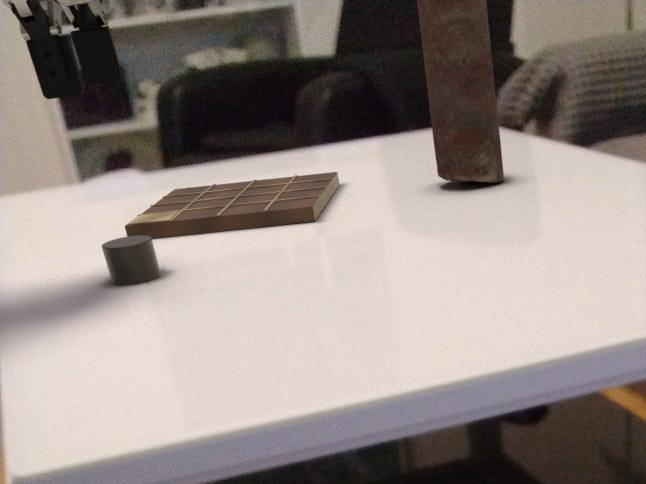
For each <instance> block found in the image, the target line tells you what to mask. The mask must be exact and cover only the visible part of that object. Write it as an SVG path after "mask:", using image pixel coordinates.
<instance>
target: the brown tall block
mask: <svg viewBox="0 0 646 484" xmlns="http://www.w3.org/2000/svg"><path fill="white" fill-rule="evenodd" d="M416 4H417V11H418V21H419V30H420V31H419V32H420V39H421V46H422V53H423V54H422V55H423V65H424V71H425V72H424V73H425V79H426V87H427V95H428V96H427V97H428V107H429V114H430V122H431V130H432V139H433V148H434V156H435V163H436V171H437V176H438V177H439V178H441V179H442V180H444V181H449V182H453V183H456V184H460V185H461V184H464V183H470V182H478V183H490V184H496V183H501V182H502V181H503V180H504V178H505V174H504V166H503V165H504V163H503V155H502V142H501V133H500V125H499V124H500V123H499V116H498V115H499V114H498V107H497V96H496V87H495V79H494V78H495V77H494V65H493V56H492V45H491V35H490V27H489V15H488V14H489V13H488V3H487V0H416Z"/></svg>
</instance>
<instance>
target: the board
mask: <svg viewBox="0 0 646 484" xmlns="http://www.w3.org/2000/svg"><path fill="white" fill-rule="evenodd" d="M339 187H340V179H339V174H338V171H333V172H332V171H331V172H322V173H312V174H304V175H298V174H295V175H294V176H285V177H275V178H267V179H265V178H264V179H253V180H248V181H239V182H229V183H219V184H216V183H212V184H211V185H210V184H209V185H201V186H200V185H199V186H192V187H191V186H190V187H183V188H174V189H173V190H171V191H170V192H169V193H167V194H166V195H163V196H162V198H160V199H159V200H158V201H157V202H155V203H154V204H150V207H148V208H147V209H146V210H144V211H143V212H141V213H138V214H137V216H136V217H134V219H132V220H130V221H129V222H128V223H127V224H125V225H124V229H125V233H126V237H129V236H141V235H143V236H150V237H151V238H152V239H158V238H159V239H160V238H167V237H179V236H187V235H197V234H207V233H217V232H225V231H226V232H227V231H236V230H245V229H255V228H256V229H257V228H264V227H265V228H266V227H274V226H284V225H293V224H294V225H295V224H302V223H303V224H304V223H313V222H314V223H315V222H316V221H317V220H318V218H319V216H320V215H321V213H322V212H323V210H324V209H325V207H326V206H327V204H328V202H329V201H330V200H331V198H332V197H333V196H334V194H335V192H336V191H337V189H338V188H339Z"/></svg>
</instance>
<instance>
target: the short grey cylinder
mask: <svg viewBox="0 0 646 484" xmlns="http://www.w3.org/2000/svg"><path fill="white" fill-rule="evenodd" d="M101 249H102V253H103V257H104V260H105V263H106V266H107V267H106V268H107V270H108V273H109V276H110V277H109V278H110V280H111V283H112V284H113V285H118V286H119V285H120V286H124V285H125V286H126V285H135V284H142V283H145V282H149V281H153V280H154V279H156V278H159V277H160V276H161V274H162V272H161V268H160V265H159V260H158V257H157V254H156V250H155V245H154V242H153V238H151V237H150V236H143V235H141V236H129V237H127V236H123V237H119V238H115V239H111V240H108V241H106V242H104V243H103V244H102V245H101Z"/></svg>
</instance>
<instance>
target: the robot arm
mask: <svg viewBox="0 0 646 484" xmlns="http://www.w3.org/2000/svg"><path fill="white" fill-rule="evenodd" d="M1 2H2V3H3V4H4V6H5V7H6V8H8V9H9V10H10V11H11V12H12V14H13V15H14V16H15V18H16V20H18V23H19V31H20V34H21V36H22V38H23V40H24V41H25V43H26V48H27V50H28V53H29V56H30V59H31V62H32V65H33V68H34V71H35V74H36V78H37V80H38V84H39V87H40V90H41V93H42V96H43V97H44V99H46V100H52V99H53V100H55V99H60V98H68V97H75V96H80V95H83V94H84V93H85V89H86V88H85V86H84V82H85V83H86V84H88V85H95V84H102V83H109V82H117V81H121V80H122V79H123V72H122V69H121V64H120V60H119V57H118V54H117V50H116V46H115V42H114V40H113V39H114V38H113V36H112V33H111V29H110V26H109V19H108V15H107V13H106V11H105V9H104V7H103V0H1ZM62 10H63V11H64V13H65V15H66V17H67V18H68V21H69V22H70V23H71V25H72V27H73V29H74V30H71V31H70V36H71V38H72V39H70V36H69V34H65V35H63V22H62V21H63V20H62V18H63V17H62ZM71 40H72V42H73V45H74V49H75V51H74V49H73V46H72V42H71ZM74 52H75V53H76V56H77V59H78V62H79V66H80V69H81V72H82V76H83V79H84V82H83V80H82V76H81V72H80V69H79V66H78V63H77V59H76V56H75V53H74Z"/></svg>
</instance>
